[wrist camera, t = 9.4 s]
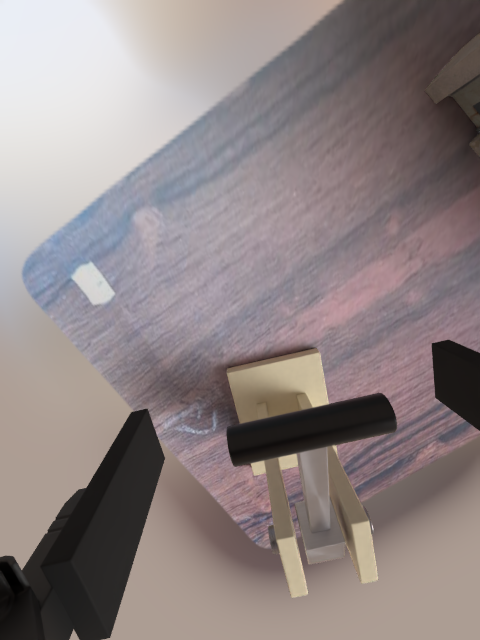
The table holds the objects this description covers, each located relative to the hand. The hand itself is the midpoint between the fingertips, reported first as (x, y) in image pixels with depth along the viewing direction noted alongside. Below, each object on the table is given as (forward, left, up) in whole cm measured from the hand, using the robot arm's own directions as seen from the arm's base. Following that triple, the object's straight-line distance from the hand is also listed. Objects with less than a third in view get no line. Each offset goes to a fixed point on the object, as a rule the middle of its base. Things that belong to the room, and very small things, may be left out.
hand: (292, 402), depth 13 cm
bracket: (0, -10, -15) cm, 18 cm away
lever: (0, -5, -1) cm, 5 cm away
